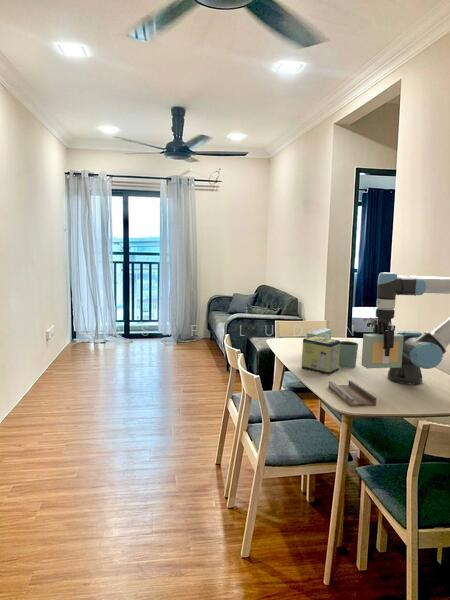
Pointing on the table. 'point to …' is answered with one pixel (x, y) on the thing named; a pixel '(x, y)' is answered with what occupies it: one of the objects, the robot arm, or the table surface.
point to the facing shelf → (353, 394)
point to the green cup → (348, 354)
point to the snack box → (321, 333)
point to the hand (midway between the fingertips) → (381, 361)
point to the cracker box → (381, 351)
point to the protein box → (320, 355)
